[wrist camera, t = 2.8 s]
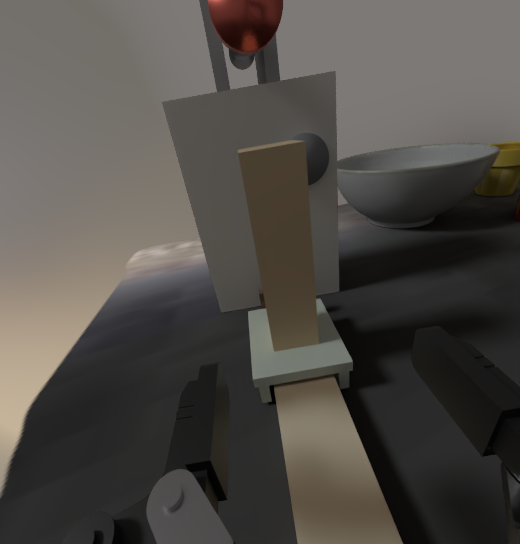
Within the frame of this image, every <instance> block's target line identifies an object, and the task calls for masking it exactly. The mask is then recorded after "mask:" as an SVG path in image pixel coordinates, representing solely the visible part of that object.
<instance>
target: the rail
mask: <svg viewBox="0 0 520 544" xmlns="http://www.w3.org/2000/svg"><path fill="white" fill-rule="evenodd" d="M259 296H260V302H261V307H262V309H265V308H266V306H265V300H264V294H263V289H259ZM274 391H275V398H276V404H277V411H278V417H279V424H280V430H281V437H282V444H283V450H284V457H285V463H286V470H287V476H288V483H289V489H290V496H291V502H292V509H293V516H294V522H295V529H296V535H297V542H298V544H403V542H402V540H401V538H400V535H399V533H398V530H397V528H396V525H395V523H394V521H393V518H392V516H391V513H390V511H389V508H388V506H387V503H386V501H385V499H384V496H383V494H382V491H381V489H380V486H379V484H378V482H377V479H376V477H375V474H374V472H373V469H372V467H371V464H370V462H369V460H368V457H367V455H366V452H365V450H364V447H363V445H362V443H361V440H360V438H359V435H358V433H357V430H356V428H355V425H354V423H353V421H352V418H351V416H350V413H349V411H348V408H347V406H346V404H345V401H344V399H343V396H342V394H341V391H340V389H339V386H338V384H337V382H336V379H335V377H334V374H330V375H325V376H319V377H313V378H308V379H302V380H297V381H291V382H286V383H280V384H274Z"/></svg>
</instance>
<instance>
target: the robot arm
mask: <svg viewBox="0 0 520 544" xmlns="http://www.w3.org/2000/svg"><path fill="white" fill-rule="evenodd" d="M411 359H412V363H413V366H414V368H415V370H416V372H417V373H418V374H419V376H420V377H421V378H422V380H423V381H424V382H425V384H426V385H427V386H428V387H429V389H430V390H431V391H432V393H433V394H434V395H435V396H436V398H437V399H438V400H439V402H440V403H441V404H442V405H443V407H444V408H445V409H446V411H447V412H448V413H449V415H450V416H451V417H452V418H453V420H454V421H455V422H456V424H457V425H458V426H459V427H460V429H461V430H462V431H463V433H464V434H465V435H466V436H467V438H468V439H469V440H470V442H471V443H472V444H473V446H474V447H475V448H476V449H477V451H478V452H479V453H480V455H481V456H482V457H483V456H488V455H494V454H497V456H498V457H499V458H500V459H501V461H502V463H501V474H502V483H503V491H504V499H505V507H506V515H507V524H508V543H507V544H520V387H519V386H518V385H517V384H516V383H515V382H514V381H512V380H511V379H510V378H509V377H508V376H507V375H506V374H504V373H503V372H502V371H501V370H500V369H499V368H498V367H495V366H494V364H493V363H492V362H491V361H490V360H488V359H487V358H485V357H484V355H483V354H482V353H480V352H479V351H478V350H477V349H476V348H475V347H474V346H472V345H471V344H469V343H467V342H465V341H463V340H462V339H460V338H458V337H451V336H450V335H449V334H448V333H447V332H446V331H445V330H444V329H442V328H441V327H440V326H432V327H426V328H421V329H417V330H416V332H415V337H414V343H413V350H412V356H411ZM229 405H230V402H229V392H228V387H227V383H226V380H225V377H224V374H223V370H222V367H221V364H220V363H213V364H208V365H202V366H201V367H200V371H199V378H198V380H196V381H190V382H189V383H188V384H187V386H186V387H185V389H184V391H183V392H182V394H181V398H180V403H179V407H178V408H179V410H178V412H177V417H176V422H175V426H174V431H173V435H172V440H171V445H170V450H169V454H168V459H167V464H166V468H165V471H164V474H163V476H162V478H161V479H160V480H159V481H158V482H157V484H156V485H155V486H154V488H153V490H152V492H151V493H150V494H149V495H148V496H146V497H145V498H144V499H142V500H141V501H139V502H137V503H136V504H134V505H132V506H130V507H129V508H127V509H125V510H123V511H121V512H120V513H118V514H116V515H114V516H112V517H111V516H110V515H109V514H108V513H106V512H102V511H99V512H94V513H92V514H90V515H88V516H86V517H84V518H83V519H82V520H80V521H79V522H78V523H77V524H76V525H75V526H74V527H73V528H72V529H71V530H70V531H69V533H68V534H67V535H66V537H65V538H64V540H63V541H62V543H61V544H235V543H234V541H233V540H232V538H231V537H230V535H229V533H228V532H227V530H226V528H225V527H224V525H223V523H222V522H221V520H220V518H219V517H218V501H224V500H227V492H228V448H229Z"/></svg>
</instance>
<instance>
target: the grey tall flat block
mask: <svg viewBox="0 0 520 544" xmlns="http://www.w3.org/2000/svg"><path fill="white" fill-rule="evenodd" d="M199 1H200V6H201V11H202V16H203V21H204V26H205V32H206V37H207V42H208V47H209V52H210V57H211V62H212V68H213V73H214V78H215V83H216V88H217V92H215V93H210V94H204V95H198V96H193V97H188V98H182V99H176V100H170V101H165V102H162V104H163V107H164V111H165V114H166V118H167V122H168V125H169V128H170V132H171V136H172V139H173V143H174V146H175V150H176V154H177V157H178V161H179V164H180V168H181V171H182V174H183V178H184V181H185V186H186V189H187V193H188V196H189V200H190V203H191V207H192V210H193V214H194V217H195V221H196V225H197V228H198V232H199V235H200V239H201V242H202V246H203V249H204V253H205V257H206V260H207V264H208V267H209V271H210V274H211V278H212V281H213V285H214V289H215V292H216V296H217V299H218V303H219V306H220V310H221V313H223V312H229V311H234V310H240V309H245V308H251V307H257V306H261V302H260V296H259V289H262V283H261V278H260V272H259V267H258V261H257V256H256V250H255V244H254V239H253V233H252V228H251V222H250V217H249V211H248V206H247V200H246V194H245V189H244V183H243V178H242V172H241V167H240V161H239V156H238V150H239V149H245V148H250V147H256V146H261V145H267V144H273V143H278V142H284V141H289V140H298V141H305V144H306V159H307V174H308V189H309V203H310V218H311V233H312V247H313V262H314V277H315V292H316V296H318V295H324V294H329V293H335V292H339V247H338V193H337V191H338V190H337V133H336V75H335V71H333V72H327V73H322V74H316V75H310V76H305V77H299V78H293V79H288V80H282V81H280V75H279V64H278V54H277V44H276V34H275V35H274V37H273V39H272V40H271V42H270V43H269V44H268V45H267V46H266V47H265V48H264V49H263V50H261V51H260V52H257V53H255V61H256V69H257V77H258V84H259V85H254V86H249V87H244V88H238V89H232V90H230V86H229V80H228V74H227V68H226V62H225V57H224V51H223V45H222V41H221V40H220V39H219V37H218V35H217V34H216V32H215V30H214V27H213V24H212V21H211V17H210V12H209V7H208V0H199Z"/></svg>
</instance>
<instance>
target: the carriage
mask: <svg viewBox="0 0 520 544" xmlns="http://www.w3.org/2000/svg"><path fill="white" fill-rule="evenodd" d="M238 156H239V161H240V167H241V172H242V178H243V183H244V189H245V194H246V200H247V206H248V211H249V217H250V222H251V228H252V233H253V239H254V244H255V250H256V256H257V261H258V267H259V272H260V278H261V283H262V289H263V294H264V300H265V306H266V308H265V309H260V310H254V311H249V312H248V318H249V332H250V346H251V360H252V374H253V382H254V386H255V388H258V387H259V391H260V395H261V399H262V403H266V402H272V399H271V392H270V385H274V384H280V383H286V382H291V381H297V380H302V379H308V378H313V377H319V376H325V375H330V374H334V376H335V379H336V381H337V384H338V386H339V389H344V388H349V371H353V361H352V359H351V357H350V355H349V353H348V351H347V349H346V347H345V345H344V343H343V341H342V339H341V337H340V336H339V334H338V332H337V330H336V328H335V326H334V324H333V322H332V320H331V318H330V316H329V314H328V312H327V311H326V309H325V307H324V305H323V303H322V301H321V299H316V292H315V277H314V262H313V247H312V233H311V218H310V203H309V189H308V174H307V159H306V144H305V141H298V140H289V141H284V142H278V143H273V144H267V145H261V146H256V147H250V148H245V149H239V150H238Z"/></svg>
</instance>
